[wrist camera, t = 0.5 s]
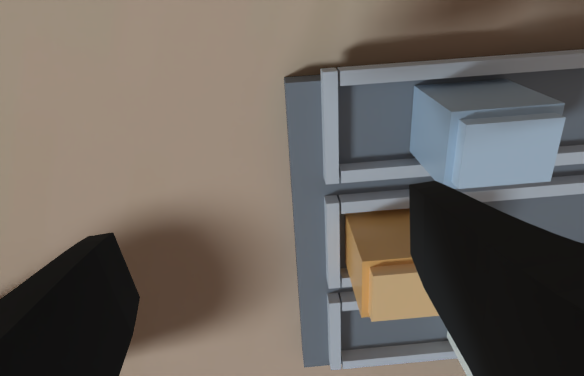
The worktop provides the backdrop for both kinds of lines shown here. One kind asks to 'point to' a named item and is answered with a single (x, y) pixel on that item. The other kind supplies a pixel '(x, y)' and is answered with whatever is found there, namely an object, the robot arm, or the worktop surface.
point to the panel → (402, 187)
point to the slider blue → (485, 133)
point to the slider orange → (384, 266)
